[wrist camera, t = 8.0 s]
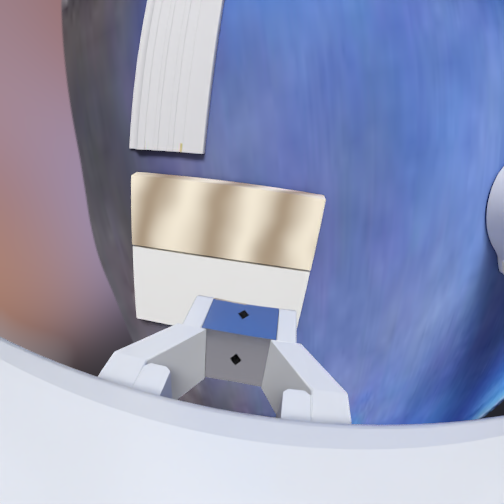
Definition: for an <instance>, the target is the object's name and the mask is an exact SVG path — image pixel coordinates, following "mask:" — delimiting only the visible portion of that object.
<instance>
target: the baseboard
mask: <svg viewBox="0 0 504 504" xmlns="http://www.w3.org/2000/svg"><path fill="white" fill-rule="evenodd" d="M223 5H224V0H147V5H146V10H145V16H144V21H143V27H142V33H141V39H140V46H139V53H138V60H137V67H136V76H135V84H134V94H133V105H132V116H131V130H130V148H133V149H140V150H160V151H174V152H186V153H197V154H204V153H205V145H206V135H207V125H208V116H209V107H210V98H211V90H212V82H213V74H214V66H215V59H216V51H217V44H218V37H219V31H220V24H221V18H222V11H223Z"/></svg>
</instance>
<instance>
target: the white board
mask: <svg viewBox="0 0 504 504" xmlns="http://www.w3.org/2000/svg"><path fill="white" fill-rule="evenodd" d="M133 266H134V286H135V301H136V314H137V318H139V319H144V320H148V321H153V322H158V323H163V324H168V325H175V324H177V323H179V324H183V322H184V320H185V318H186V316H187V314H188V312H189V310H190V308H191V306H192V304H193V302H194V300H195V298H196V297H197V296H198V295H202V296H208V297H214V298H219V299H224V300H229V301H234V302H240V303H245V304H248V305H256V306H263V307H271V308H280V309H289V310H295V311H296V329H297V325H298V321H299V317H300V313H301V309H302V305H303V300H304V296H305V292H306V288H307V283H308V279H309V274H310V270H303V269H296V268H289V267H282V266H275V265H268V264H261V263H254V262H247V261H240V260H233V259H226V258H219V257H213V256H206V255H199V254H192V253H186V252H179V251H172V250H166V249H159V248H152V247H146V246H139V245H134V246H133Z"/></svg>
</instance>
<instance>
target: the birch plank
mask: <svg viewBox="0 0 504 504" xmlns="http://www.w3.org/2000/svg"><path fill="white" fill-rule="evenodd" d="M325 201H326V199H325V197H324V195H319V194H313V193H307V192H301V191H295V190H288V189H282V188H275V187H268V186H261V185H253V184H246V183H238V182H230V181H222V180H214V179H205V178H196V177H186V176H177V175H166V174H155V173H143V172H137V173H135V174H133V175H131V217H132V244H133V245H139V246H146V247H152V248H159V249H166V250H172V251H179V252H186V253H192V254H199V255H206V256H213V257H219V258H226V259H233V260H240V261H247V262H254V263H261V264H268V265H275V266H282V267H289V268H296V269H303V270H310V271H311V266H312V262H313V258H314V253H315V249H316V244H317V239H318V235H319V230H320V225H321V221H322V216H323V211H324V206H325Z"/></svg>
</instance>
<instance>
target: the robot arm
mask: <svg viewBox="0 0 504 504" xmlns="http://www.w3.org/2000/svg"><path fill="white" fill-rule="evenodd" d="M486 219H487V230H488V235H489V239H490V241H491V244H492V246H493V247H494V249H495V251H496V253H497V256H498V267H499V271H500V272H501V273H503V274H504V167H503V168H502V169H501V171H500V172H499V174H498V175H497V177H496V179H495V181H494V184H493V186H492V189H491V192H490V195H489V200H488V205H487V216H486ZM205 377H209V378H215V379H221V380H228V381H234V382H239V383H244V384H250V385H255V386H261V388H262V390H263V392H264V394H265V395H266V397H267V399H268V401H269V403H270V404H271V406H272V408H273V410H274V412H275V413H276V418H274V417H267V416H260V415H253V414H246V413H240V412H234V411H228V410H223V409H218V408H212V407H207V406H203V405H198V404H193V403H189V402H184V401H180V400H177V399H178V398H180V397H181V396H182V395H184V394H185V393H186V392H188V391H189V390H190V389H191V388H193V387H194V386H195V385H197V384H198V383H199V382H200V381H202V380H203V379H204V378H205ZM0 504H504V416H498V417H491V418H483V419H475V420H467V421H456V422H445V423H429V424H405V425H362V424H351V417H350V408H349V401H348V394H347V392H346V391H345V390H344V389H343V388H342V387H341V386H340V385H339V384H338V383H337V382H336V381H335V380H334V379H333V378H332V377H331V376H330V374H329V373H328V372H327V371H326V370H325V369H324V368H323V367H322V366H321V365H320V364H319V363H318V362H317V361H316V359H315V358H314V357H313V356H312V355H311V354H310V353H309V352H308V351H307V350H306V349H305V348H304V347H303V345H302V344H298V343H296V311H295V310H289V309H280V308H271V307H263V306H256V305H248V304H245V303H240V302H234V301H229V300H224V299H219V298H214V297H208V296H202V295H198V296H197V297H196V298H195V300H194V302H193V304H192V306H191V308H190V310H189V312H188V314H187V316H186V318H185V320H184V322H183V324H179V323H177V324H175V325H173V326H171V327H169V328H166V329H164V330H162V331H160V332H158V333H155V334H153V335H151V336H149V337H147V338H144V339H142V340H140V341H138V342H135V343H133V344H131V345H129V346H126V347H124V348H122V349H120V350H118V351H115V352H114V353H113V355H112V356H111V358H110V359H109V361H108V362H107V364H106V365H105V367H104V368H103V369H102V371H101V373H100V374H99V375H98V377H96V376H93V375H90V374H88V373H85V372H82V371H79V370H77V369H74V368H71V367H69V366H66V365H63V364H61V363H58V362H56V361H53V360H51V359H48V358H46V357H44V356H41V355H39V354H36V353H34V352H32V351H29V350H27V349H25V348H23V347H21V346H19V345H16V344H14V343H12V342H10V341H8V340H6V339H4V338H2V337H0Z"/></svg>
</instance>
